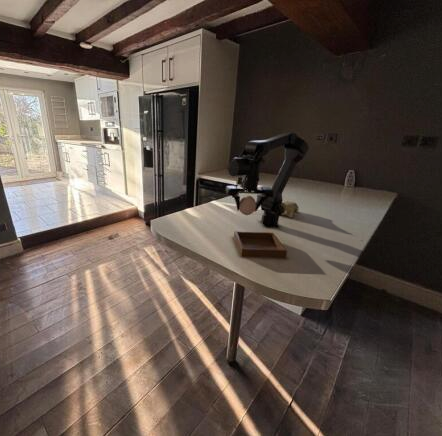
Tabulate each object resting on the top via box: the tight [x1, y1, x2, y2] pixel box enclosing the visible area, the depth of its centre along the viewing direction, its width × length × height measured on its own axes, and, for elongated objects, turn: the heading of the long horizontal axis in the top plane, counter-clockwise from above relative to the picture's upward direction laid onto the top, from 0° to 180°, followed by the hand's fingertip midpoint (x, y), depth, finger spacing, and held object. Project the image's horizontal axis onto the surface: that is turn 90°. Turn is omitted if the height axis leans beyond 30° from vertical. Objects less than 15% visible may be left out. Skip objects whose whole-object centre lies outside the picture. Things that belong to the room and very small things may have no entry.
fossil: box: [281, 200, 299, 219], centre depth 124 cm, size 15×10×10 cm
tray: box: [233, 230, 288, 259], centre depth 88 cm, size 16×15×3 cm
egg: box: [239, 195, 256, 216], centre depth 98 cm, size 7×7×8 cm
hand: (246, 210), depth 98 cm, fingers closed on egg, 7 cm apart
